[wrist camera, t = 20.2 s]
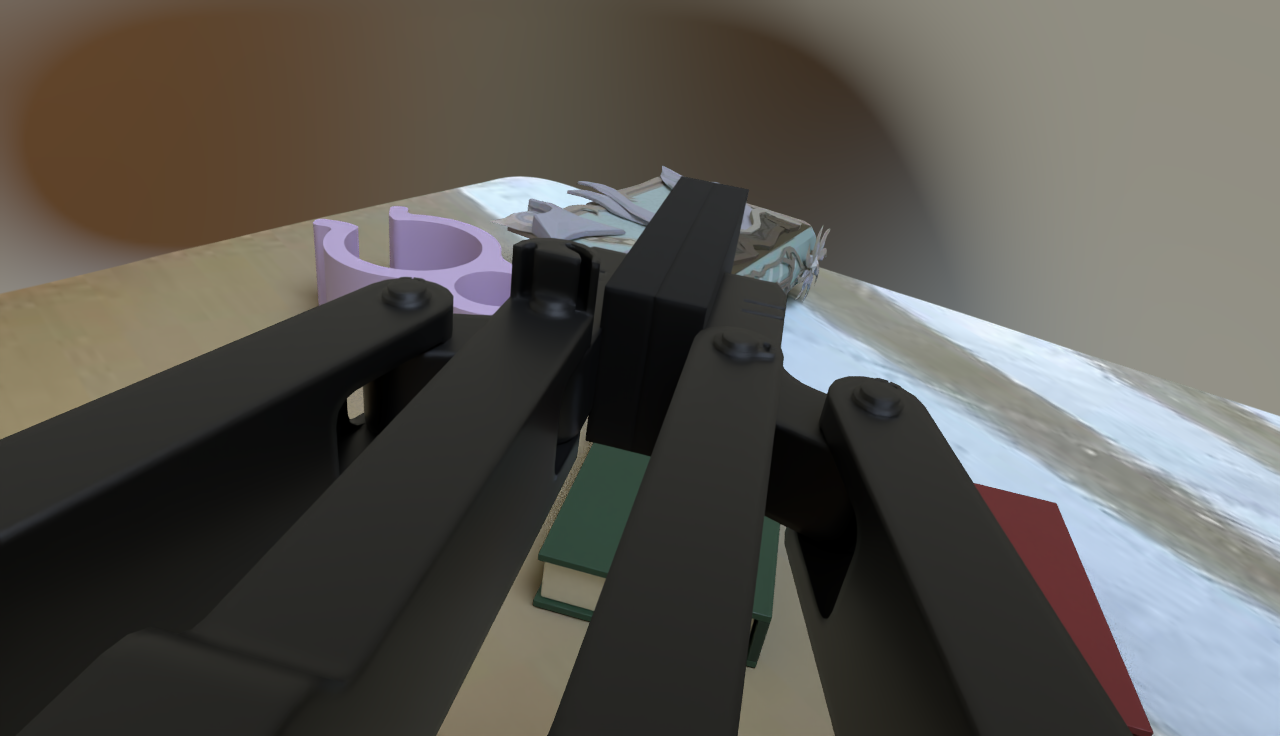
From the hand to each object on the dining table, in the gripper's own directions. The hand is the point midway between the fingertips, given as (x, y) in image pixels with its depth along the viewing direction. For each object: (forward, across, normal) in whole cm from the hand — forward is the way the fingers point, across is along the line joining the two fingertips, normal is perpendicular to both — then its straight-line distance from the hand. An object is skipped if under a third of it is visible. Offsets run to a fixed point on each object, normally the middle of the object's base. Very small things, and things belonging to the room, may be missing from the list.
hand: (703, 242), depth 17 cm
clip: (+32, -21, -23) cm, 45 cm away
